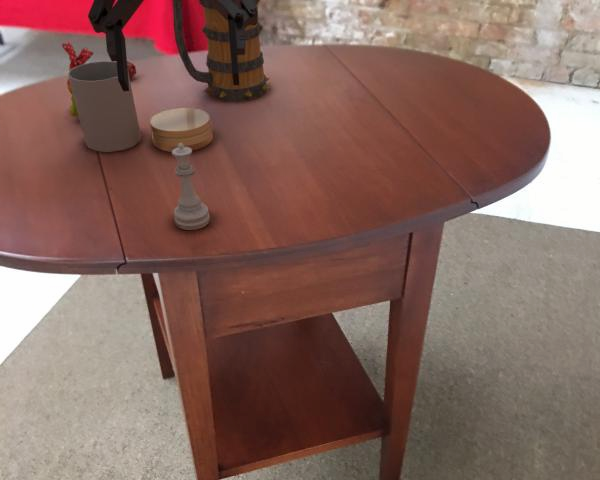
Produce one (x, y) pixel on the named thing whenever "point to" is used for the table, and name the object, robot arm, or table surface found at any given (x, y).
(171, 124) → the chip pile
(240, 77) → the mug
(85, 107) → the cup
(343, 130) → the table surface
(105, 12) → the robot arm
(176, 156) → the chess piece
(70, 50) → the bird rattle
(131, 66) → the die
